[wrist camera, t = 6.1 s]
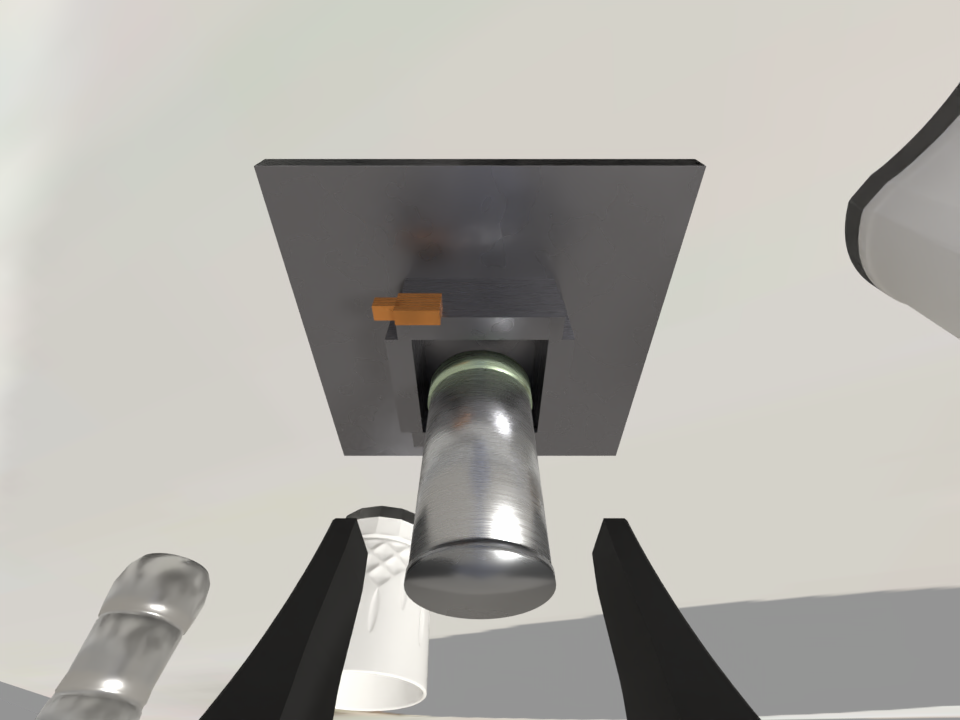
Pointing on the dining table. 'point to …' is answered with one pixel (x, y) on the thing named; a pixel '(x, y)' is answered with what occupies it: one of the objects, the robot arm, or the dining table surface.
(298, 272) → the stand base
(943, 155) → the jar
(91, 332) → the dining table surface
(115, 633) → the plastic bottle
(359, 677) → the white cup
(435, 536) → the silver metal canister
